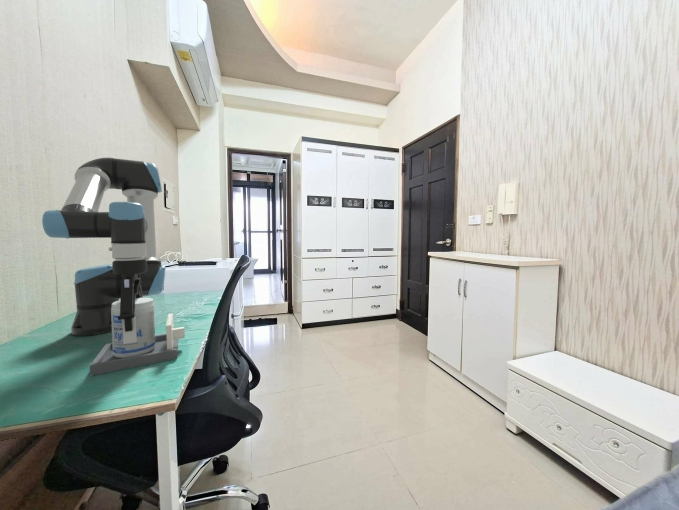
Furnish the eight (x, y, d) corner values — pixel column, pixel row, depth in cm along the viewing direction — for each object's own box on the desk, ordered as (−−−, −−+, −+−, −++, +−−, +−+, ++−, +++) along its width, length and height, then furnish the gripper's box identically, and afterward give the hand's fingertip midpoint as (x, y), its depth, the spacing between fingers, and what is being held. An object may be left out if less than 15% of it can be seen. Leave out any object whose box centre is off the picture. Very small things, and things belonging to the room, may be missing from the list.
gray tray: (107, 351, 78) (106, 343, 78) (178, 339, 87) (178, 331, 87) (90, 375, 65) (89, 365, 64) (177, 358, 74) (176, 349, 73)
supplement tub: (110, 363, 69) (106, 307, 68) (115, 350, 77) (112, 299, 76) (155, 353, 74) (152, 301, 73) (156, 342, 82) (154, 295, 81)
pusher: (169, 338, 85) (168, 313, 84) (184, 335, 87) (183, 311, 87) (167, 354, 73) (165, 325, 73) (185, 350, 76) (183, 323, 75)
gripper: (121, 256, 82) (126, 324, 84) (99, 263, 61) (105, 354, 62) (151, 255, 86) (154, 320, 88) (140, 261, 65) (145, 347, 66)
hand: (134, 334), depth 75 cm, fingers open, 13 cm apart
